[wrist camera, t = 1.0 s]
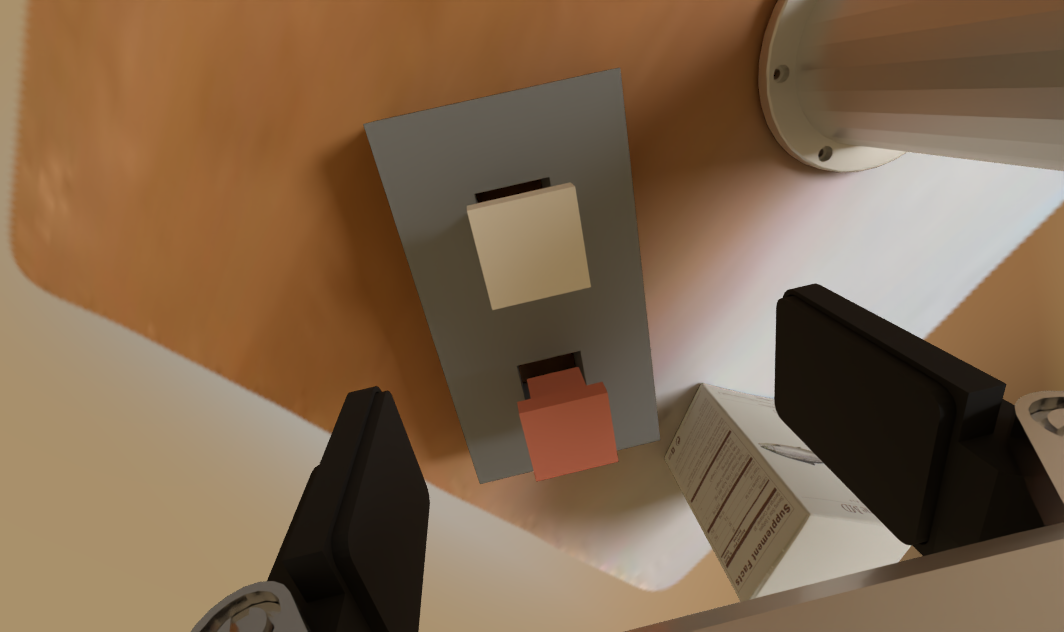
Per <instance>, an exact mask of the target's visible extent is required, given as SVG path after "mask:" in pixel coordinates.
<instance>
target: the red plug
mask: <svg viewBox="0 0 1064 632" xmlns="http://www.w3.org/2000/svg"><path fill="white" fill-rule="evenodd" d="M527 383H528V388H529V392H530V397H531V399H528V400H524V401H519V402H517V405H518V411H519V416H520V420H521V423H522V427H523V431H524V435H525V439H526V443H527V447H528V451H529V455H530V458H531V462H532V466H533V470H534V474H535V478H536V482H537V481H541V480H545V479H549V478H553V477H558V476H562V475H566V474H570V473H574V472H578V471H582V470H586V469H590V468H594V467H598V466H602V465H606V464H610V463H615V462H618V455H617V449H616V443H615V436H614V430H613V424H612V417H611V411H610V404H609V398H608V392H607V390H606V388H605V386H604V384H603V382H599V383H594V384H590V385H586V383H585V381H584V379H583V376H582V374H581V372H580V369H579V367H575V368H571V369H567V370H563V371H558V372H554V373H550V374H546V375H542V376H537V377H533V378H529V379H527Z"/></svg>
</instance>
